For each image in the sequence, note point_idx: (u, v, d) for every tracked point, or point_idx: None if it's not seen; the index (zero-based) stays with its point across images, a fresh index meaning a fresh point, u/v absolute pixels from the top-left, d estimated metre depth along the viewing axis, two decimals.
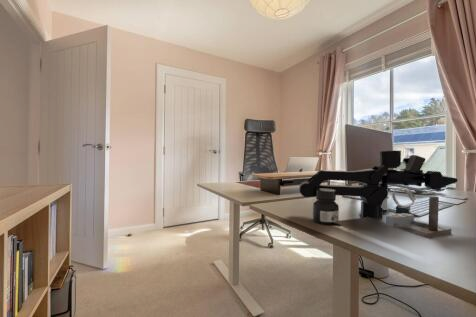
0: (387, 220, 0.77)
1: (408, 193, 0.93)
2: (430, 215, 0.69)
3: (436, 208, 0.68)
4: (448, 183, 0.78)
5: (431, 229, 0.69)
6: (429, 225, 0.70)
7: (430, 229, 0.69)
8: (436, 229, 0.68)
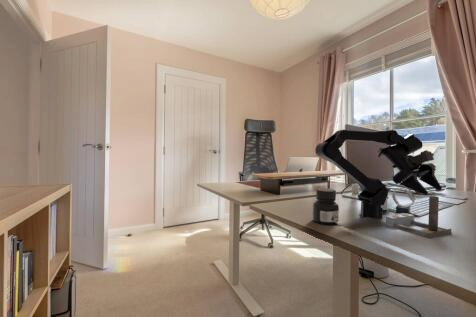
0: (387, 220, 0.77)
1: (408, 193, 0.93)
2: (430, 215, 0.69)
3: (436, 208, 0.68)
4: (415, 189, 0.78)
5: (431, 229, 0.69)
6: (429, 225, 0.70)
7: (430, 229, 0.69)
8: (436, 229, 0.68)
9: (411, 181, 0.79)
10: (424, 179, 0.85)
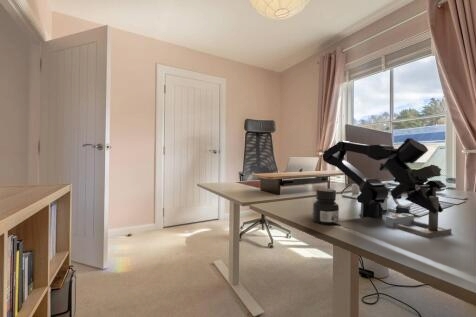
0: (387, 220, 0.77)
1: None
2: (430, 215, 0.69)
3: (436, 208, 0.68)
4: (423, 205, 0.70)
5: (431, 229, 0.69)
6: (429, 225, 0.70)
7: (430, 229, 0.69)
8: (436, 229, 0.68)
9: (419, 196, 0.71)
10: None
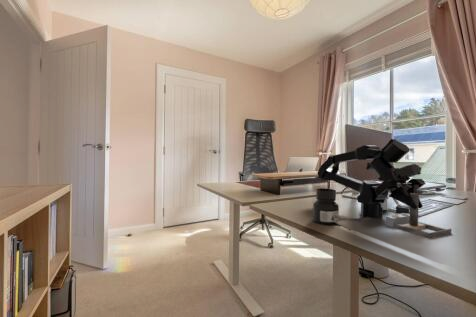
0: (387, 220, 0.77)
1: None
2: (411, 211, 0.74)
3: (416, 204, 0.73)
4: (404, 202, 0.75)
5: (412, 224, 0.74)
6: (410, 220, 0.75)
7: (411, 224, 0.74)
8: (416, 224, 0.73)
9: (401, 193, 0.76)
10: None
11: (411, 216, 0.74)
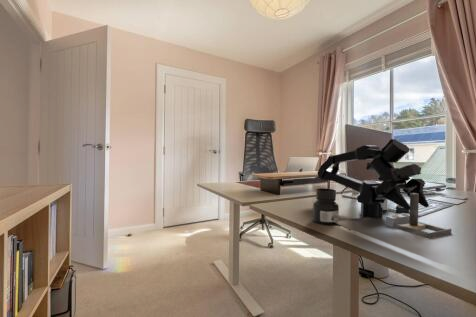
0: (387, 220, 0.77)
1: None
2: (411, 211, 0.74)
3: (416, 204, 0.73)
4: (398, 202, 0.74)
5: (412, 224, 0.74)
6: (410, 220, 0.75)
7: (411, 224, 0.74)
8: (416, 224, 0.74)
9: (394, 194, 0.75)
10: None
11: (411, 216, 0.74)
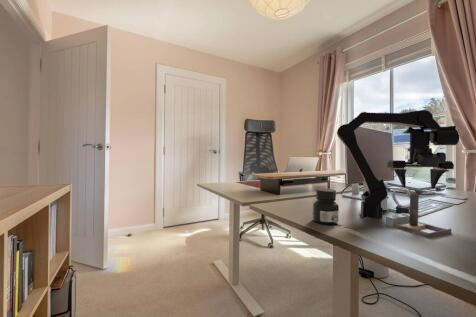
0: (387, 220, 0.77)
1: (408, 193, 0.93)
2: (411, 211, 0.74)
3: (416, 204, 0.73)
4: (399, 178, 0.85)
5: (412, 224, 0.74)
6: (410, 220, 0.75)
7: (411, 224, 0.74)
8: (416, 224, 0.74)
9: None
10: (431, 172, 0.83)
11: (411, 216, 0.74)
